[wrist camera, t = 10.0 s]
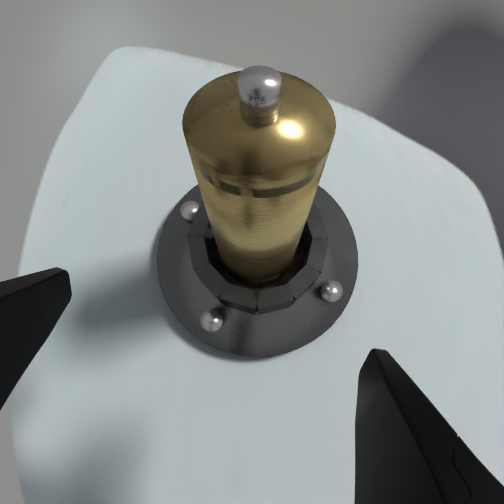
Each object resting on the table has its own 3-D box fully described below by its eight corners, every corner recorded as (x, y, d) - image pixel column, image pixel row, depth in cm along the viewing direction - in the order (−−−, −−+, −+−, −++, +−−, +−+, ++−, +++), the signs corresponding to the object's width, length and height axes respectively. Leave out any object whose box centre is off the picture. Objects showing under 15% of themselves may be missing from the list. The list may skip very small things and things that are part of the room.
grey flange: (377, 325, 21) (398, 317, 17) (180, 375, 20) (166, 377, 16) (319, 159, 25) (326, 132, 22) (151, 195, 24) (138, 171, 21)
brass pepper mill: (306, 260, 21) (379, 98, 7) (248, 302, 20) (236, 175, 7) (264, 208, 22) (273, 24, 9) (207, 245, 22) (147, 74, 8)
